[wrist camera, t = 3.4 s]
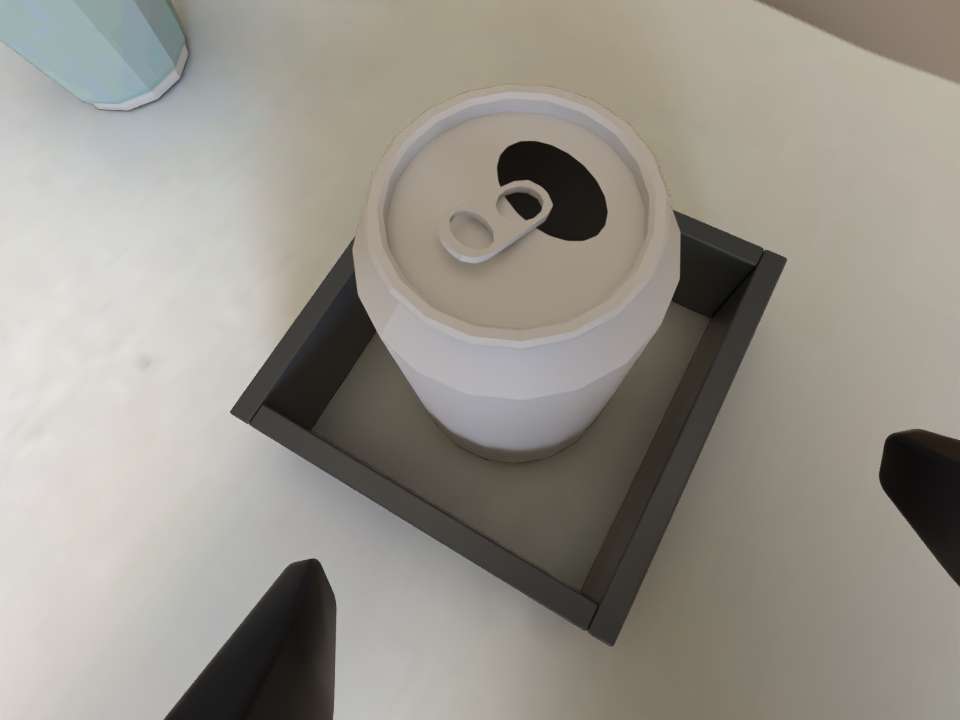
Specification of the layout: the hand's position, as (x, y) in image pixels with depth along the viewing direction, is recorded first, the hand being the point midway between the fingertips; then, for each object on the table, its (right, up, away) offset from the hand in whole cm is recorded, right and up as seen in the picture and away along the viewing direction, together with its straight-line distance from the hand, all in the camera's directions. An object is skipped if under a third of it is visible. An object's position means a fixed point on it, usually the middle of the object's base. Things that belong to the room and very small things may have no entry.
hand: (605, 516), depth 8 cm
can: (-1, +2, +14) cm, 14 cm away
